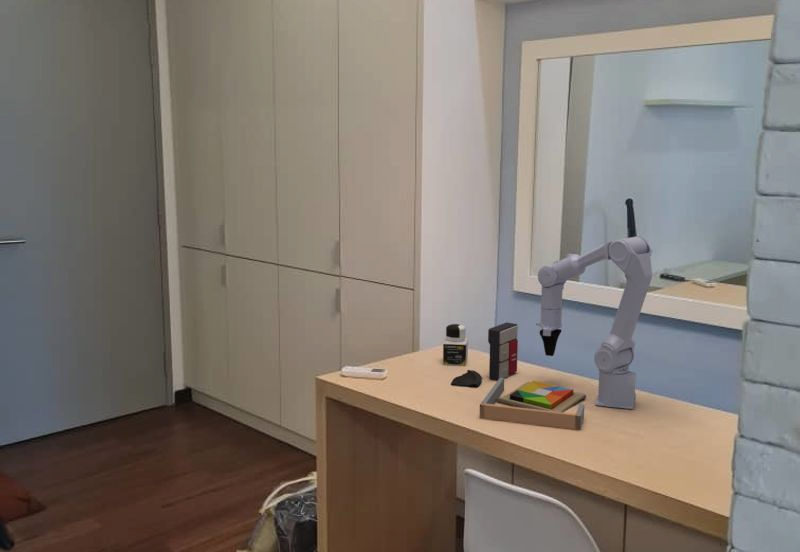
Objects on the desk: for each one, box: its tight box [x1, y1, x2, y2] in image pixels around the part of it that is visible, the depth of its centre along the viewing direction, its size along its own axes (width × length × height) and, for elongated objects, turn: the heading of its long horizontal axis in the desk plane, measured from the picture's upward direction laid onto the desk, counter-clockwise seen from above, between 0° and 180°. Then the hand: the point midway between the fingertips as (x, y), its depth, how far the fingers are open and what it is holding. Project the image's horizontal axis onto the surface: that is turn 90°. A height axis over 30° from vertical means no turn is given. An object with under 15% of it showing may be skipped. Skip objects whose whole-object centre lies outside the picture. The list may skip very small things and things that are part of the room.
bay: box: [479, 378, 585, 431], centre depth 192 cm, size 24×24×4 cm
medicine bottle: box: [442, 323, 469, 367], centre depth 233 cm, size 7×7×12 cm
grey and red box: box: [487, 322, 519, 382], centre depth 218 cm, size 11×4×15 cm, turn 143°
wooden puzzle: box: [496, 380, 587, 413], centre depth 198 cm, size 18×19×4 cm
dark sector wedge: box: [450, 369, 483, 389], centre depth 216 cm, size 8×14×2 cm, turn 160°
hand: (549, 355), depth 210 cm, fingers closed
